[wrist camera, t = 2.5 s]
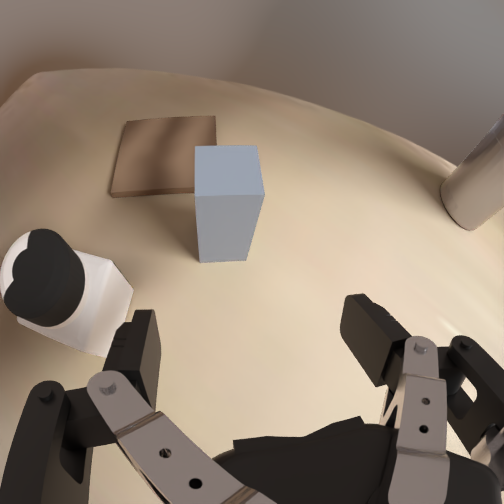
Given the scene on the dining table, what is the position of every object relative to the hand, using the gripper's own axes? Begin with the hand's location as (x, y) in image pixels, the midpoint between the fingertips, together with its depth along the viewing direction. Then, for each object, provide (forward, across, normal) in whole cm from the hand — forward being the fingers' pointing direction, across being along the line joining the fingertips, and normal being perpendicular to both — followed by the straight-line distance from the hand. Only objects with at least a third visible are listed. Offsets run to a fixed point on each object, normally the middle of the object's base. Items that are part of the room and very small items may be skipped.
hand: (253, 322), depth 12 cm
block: (+18, 0, +3) cm, 18 cm away
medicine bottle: (+13, +13, +8) cm, 20 cm away
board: (+27, +6, -6) cm, 28 cm away
